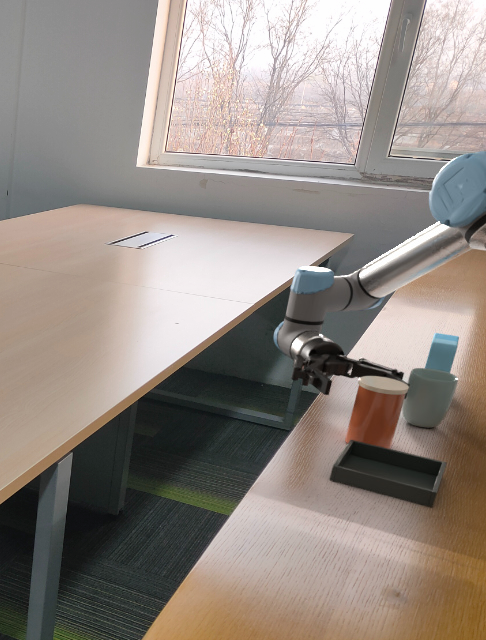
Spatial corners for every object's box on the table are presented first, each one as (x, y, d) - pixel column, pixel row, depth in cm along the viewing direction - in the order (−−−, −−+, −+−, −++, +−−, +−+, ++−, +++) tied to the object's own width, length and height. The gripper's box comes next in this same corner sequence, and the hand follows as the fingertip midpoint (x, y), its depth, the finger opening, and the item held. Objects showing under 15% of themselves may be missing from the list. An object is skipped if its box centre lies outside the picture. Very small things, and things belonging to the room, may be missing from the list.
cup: (447, 434, 149) (463, 383, 145) (400, 427, 151) (415, 377, 148) (438, 420, 156) (453, 371, 152) (394, 413, 158) (407, 365, 154)
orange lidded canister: (394, 446, 142) (411, 382, 138) (387, 459, 137) (405, 393, 132) (347, 435, 147) (363, 372, 142) (339, 447, 141) (355, 383, 136)
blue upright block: (441, 403, 165) (457, 347, 161) (416, 398, 168) (431, 343, 163) (443, 388, 175) (459, 334, 170) (420, 383, 177) (435, 331, 172)
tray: (441, 479, 130) (446, 462, 129) (431, 511, 119) (436, 492, 118) (346, 455, 138) (350, 439, 136) (328, 483, 127) (333, 465, 126)
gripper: (375, 375, 163) (432, 412, 144) (252, 369, 164) (291, 406, 144) (384, 340, 161) (443, 373, 141) (259, 334, 161) (300, 366, 142)
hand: (367, 389), depth 143 cm, fingers open, 13 cm apart
